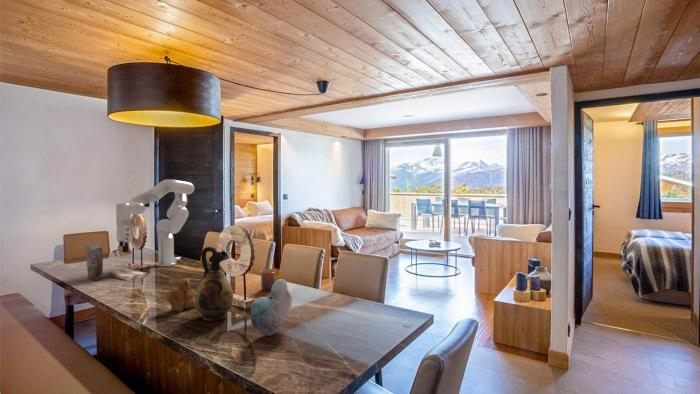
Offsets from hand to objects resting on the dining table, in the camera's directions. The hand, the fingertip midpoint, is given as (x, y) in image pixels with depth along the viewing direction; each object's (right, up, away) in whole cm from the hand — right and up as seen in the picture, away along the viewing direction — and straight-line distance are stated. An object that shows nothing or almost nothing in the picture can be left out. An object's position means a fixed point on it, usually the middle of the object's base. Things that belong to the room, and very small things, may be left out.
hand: (123, 251), depth 226 cm
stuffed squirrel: (+66, -17, -62) cm, 92 cm away
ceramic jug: (+84, -17, -72) cm, 112 cm away
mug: (+99, -16, -32) cm, 105 cm away
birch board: (+5, -14, -5) cm, 16 cm away
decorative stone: (+113, -18, -89) cm, 145 cm away
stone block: (-10, -15, -11) cm, 21 cm away
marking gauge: (0, -3, -1) cm, 3 cm away
